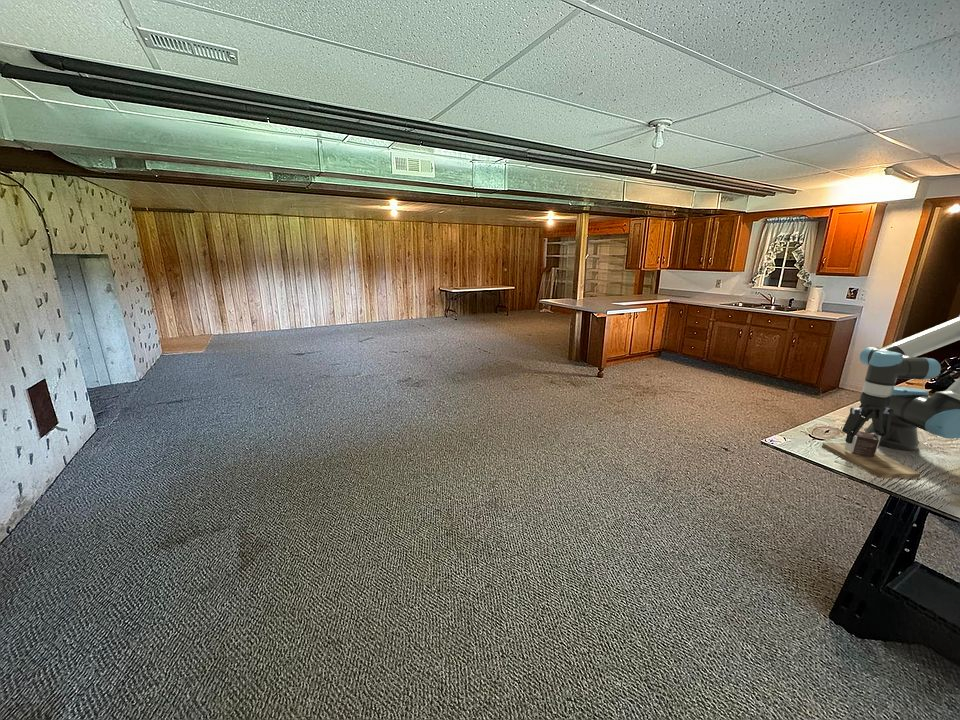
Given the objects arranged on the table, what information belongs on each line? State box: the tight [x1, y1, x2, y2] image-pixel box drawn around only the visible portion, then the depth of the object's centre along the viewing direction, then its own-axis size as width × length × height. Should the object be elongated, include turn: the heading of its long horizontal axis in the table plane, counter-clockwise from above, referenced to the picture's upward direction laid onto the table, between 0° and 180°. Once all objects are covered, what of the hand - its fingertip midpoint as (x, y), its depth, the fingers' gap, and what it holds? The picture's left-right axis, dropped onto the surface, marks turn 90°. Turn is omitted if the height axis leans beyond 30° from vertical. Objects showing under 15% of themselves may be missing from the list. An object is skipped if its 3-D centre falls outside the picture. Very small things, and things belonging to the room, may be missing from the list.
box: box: [851, 430, 879, 458], centre depth 140 cm, size 6×6×7 cm
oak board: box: [821, 442, 922, 479], centre depth 138 cm, size 14×22×2 cm, turn 0°
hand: (860, 450), depth 141 cm, fingers closed on box, 8 cm apart
